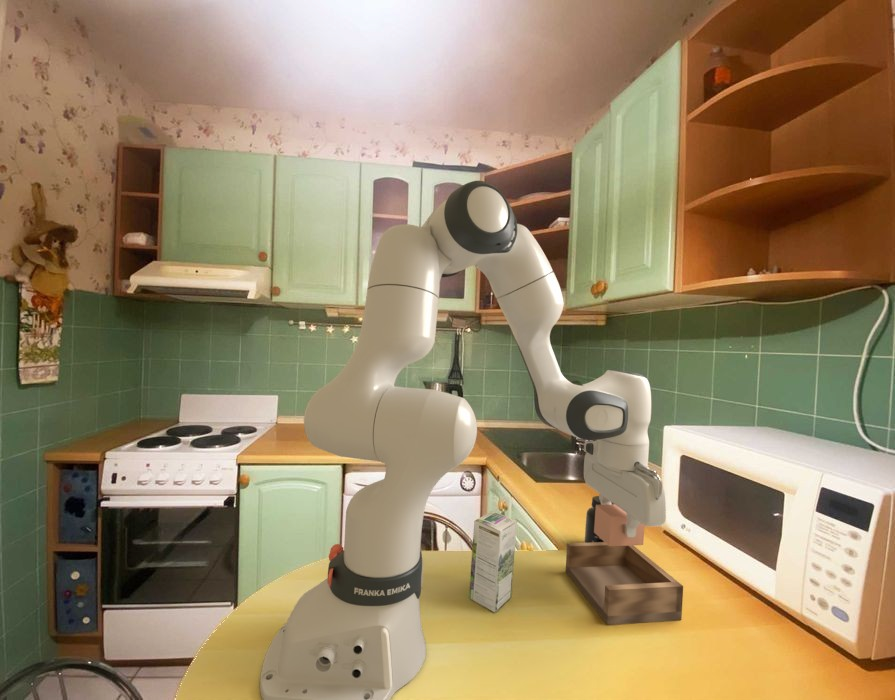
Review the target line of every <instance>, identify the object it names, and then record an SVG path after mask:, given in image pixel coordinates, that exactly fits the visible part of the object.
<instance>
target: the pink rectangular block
mask: <svg viewBox="0 0 895 700" xmlns="http://www.w3.org/2000/svg"><path fill="white" fill-rule="evenodd" d="M626 514H627V513H626V512H625V511H623V510H622V509H621V508H619V507H618V506H616V505H615V504H609V505H596V510H595V525H594V533H595V534H596V535H597V536H599V537H600V538H601V539H602V540H603V541H604V542H605V543H606V544H607V545H608V546H631V545H634V546H644V536H645V527H646V526H645V525H643V524H642V523H640V524H639V525H638V527H637V528H636V536H635V537H627V536H626V535H625V534H624V533H623V532H622V529H623V528H622V525H623V524H626V523H627V521H628V518H627V517H626Z"/></svg>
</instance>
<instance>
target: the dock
mask: <svg viewBox="0 0 895 700" xmlns="http://www.w3.org/2000/svg"><path fill="white" fill-rule="evenodd" d="M565 573H566V574H567V576H568V577H569V578H570V579H571V581H572V582H573V583H574V584H575V586H576V587H577V588H578V590H580V592H581V593H582V594H583V596H584V597H585V598H586V600H587V601H588V602H589V603H590V605H591V606H592V608H593V609H594V610H595V611H596V613H598V616H600V618H601V619H602V620H603V621H604V623H605V625H606V626H611V625H612V626H613V625H614V626H616V625H626V624H627V625H628V624H641V623H643V624H644V623H656V622H669V621H670V622H671V621H673V622H674V621H682V619H683V618H682V616H683V601H684V600H683V597H684V585H682V584H681V583H680V582H679V581H678V580H677V579H675V578H674V577H673V576H672V575H670V574H669V573H668V572H667V571H665V570H664V569H663V568H662V567H660V566H659V565H658V564H657V563H656V562H654V561H653V560H652V559H651V558H650V557H648V556H647V555H646V554H645V553H643V552H642V551H641V550H640V549H639V548H637V547H636V545H631V546H608V545H607V544H606V543H605V542H591V543H584V542H567V544H566V558H565Z"/></svg>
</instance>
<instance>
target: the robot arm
mask: <svg viewBox="0 0 895 700" xmlns="http://www.w3.org/2000/svg"><path fill="white" fill-rule="evenodd" d="M513 211H514V210H513V209H512V206H511V204H510V203H509V201H508V200H507V198H506V197H505V195H504V194H503V192H501V190H499V189H498V188H497V187H496V186H494V185H493V184H491V183H490V182H487V181H484V180H473V181H472V180H471V181H469V182H467V183H465V184H463V185H461V186H459V187H457V188H456V189H455V190H454V191H452V192H451V193H450V195H449V196H448V197H447V198H446V200H444V201H443V202H442V203H441V204H439V206H438V207H436V208H435V209H434V210H433V211H432V212H431V214H430V215H429V217H428V218H426V221H424V223H423V224H422V225H421V226H417V225H414V224H409V223H406V224H397V225H393V226H390V227H389V228H387V229H386V230H385V231H384V232H383V233H382V234H381V236H380V238H379V240H378V243H377V246H376V249H375V252H374V255H373V259H372V263H371V266H370V272H369V276H368V280H367V281H368V282H367V289H366V297H365V305H364V311H363V318H362V323H361V328H360V332H359V336H358V339H357V343H356V346H355V348H354V349H353V352H352V354H351V356H350V358H349V359H348V361H347V363H346V364H345V366H344V367H343V368H342V369H341V370H340V371H339V373H338V374H337V375H336V376H335V377H334V378H333V379H332V380H331V381H329V382H328V383H326V384H325V385H323V386H322V387H320V388H319V389H317V391H316V392H315V393H314V394H313V395H312V396H311V398H310V399H309V401H308V402H307V404H306V408H305V411H304V416H303V427H304V431H305V435H306V437H307V440H308V441H309V443H310V444H311V445H312V446H313V447H314V448H317V449H320V450H322V451H324V452H327V453H330V454H333V455H335V456H338V457H341V458H343V457H344V458H349V459H357V460H358V459H359V460H365V461H371V462H380V463H382V464H384V465H385V473H384V478H383V479H380V480H377V481H374V482H372V483H370V484H368V485H366V486H364V487H362V488H360V489H359V490H358V491H356V492H355V494H354V495H353V496H352V497H351V498H350V501H349V503H348V505H347V507H346V510H345V521H344V523H345V524H344V541H343V543H344V547H343V546H342V545H341V544H338V543H337V544H334V545H332V547H331V548H330V550H329V554H328V560H329V564H328V568H327V578H326V579H324V580H322V581H321V582H320V583H318V584H317V585H315V586H314V587H313V588H311V589H309V590H308V591H305V593H303V594H302V596H301V597H300V598H299V599H298V601H297V602H296V603H295V605H294V607H293V609H292V610H291V612H290V615H289V617H288V619H287V621H286V622H285V623H284V624H283V626H281V627H280V628H279V630H278V631H277V633H276V634H275V636H274V637H273V639H272V640H271V643H270V645H269V647H268V649H267V651H266V653H265V656H264V660H263V661H262V662H263V664H262V667H261V672H260V678H259V679H260V681H259V691H260V695H261V698H262V700H391V699H392V698H393V696H394V694H395V693H396V692H397V691H398V690H400V689H401V688H403V687H404V686H405V685H407V684H408V683H409V682H411V681H412V680H413V679H414V678H415V677H416V675H417V674H418V673H419V671H420V670H421V669H422V668H423V665H424V662H425V659H426V655H427V644H426V643H427V642H426V639H425V637H424V636H425V635H424V632H423V626H422V618H421V606H420V598H421V594H422V589H423V577H424V576H423V575H424V560H423V554H422V550H421V544H422V543H421V542H422V533H423V531H422V530H423V521H424V515H425V509H426V506H427V501H428V499H429V497H430V495H431V492H433V489H434V488H435V487H436V485H437V484H438V483H439V482H440V480H442V478H443V477H444V476H445V475H446V474H447V473H448V472H450V471H452V470H453V469H455V468H457V467H458V466H460V465H461V464H462V463H464V461H466V459H467V458H468V457H469V456H470V455H471V453H472V451H473V448H474V447H475V444H476V440H477V436H478V435H477V434H478V424H477V418H476V415H475V412H474V410H473V408H472V407H471V404H470V403H469V402H468V401H467V399H465V397H461V396H458V395H455V394H452V393H449V392H445V391H442V390H437V389H431V388H421V387H420V388H419V387H405V386H395V383H396V380H397V378H398V375H399V374H400V372H401V371H402V370H403V369H404V368H406V367H407V366H408V365H410V364H413V363H416V362H418V361H420V360H422V359H424V358H425V357H426V356H427V355H429V353H430V352H431V350H433V348H434V345H435V343H436V342H435V341H436V333H437V321H438V310H439V303H440V302H439V300H440V287H441V279H443V278H449V277H452V276H455V275H458V274H459V273H460V272H461V271H463V270H466V269H468V268H470V267H473V266H474V267H475V268H476V269H477V270H479V271H480V272H481V273H482V274H483V275H485V278H487V280H488V282H489V284H490V287H491V290H492V293H493V294H494V297H495V298H496V301H497V304H498V305H499V308H500V309H501V311H502V314H503V315H504V318H505V319H506V322H507V324H508V326H509V328H510V329H511V332H512V335H513V337H514V338H515V342H516V344H517V347H518V351H519V353H520V355H521V358H522V362H523V363H524V366H525V368H526V371H527V372H528V375H529V378H530V381H531V385H532V387H533V388H532V389H533V401H534V411H535V412H536V415H537V417H538V418H539V420H540V421H541V422H542V423H543V424H544V425H546V426H548V427H550V428H554V429H557V430H559V431H561V432H564V433H565V434H567V435H570V436H572V437H574V438H577V439H579V440H584V441H585V442H584V444H583V451H584V452H585V455H584V457H583V458H584V460H583V461H584V462H583V478H584V479H583V480H584V481H585V484H586V485H587V486H588V487H590V488H591V489H592V490H594V491H596V492H597V493H598V494H599V495H598V496H599V499H600V502H601V505H609V504H611V502H612V503H614V504H615V505H616V506H618V507H619V508H621V509H622V510H623V511H625V512H626V513H627V514H626V517H627V518H628V521H627V523H626V524H623V525H622V528H623V529H622V532H623V533H624V534H625V535H626V536H627V537H635V536H636V528H637V527H638V525H639V524H640V523H642V524H643V525H645V526H644V527H661V526H663V525H664V524H665V523H666V521H667V507H666V503H667V502H666V493H665V488H664V484H663V481H662V479H661V478H660V475H658V472H657V471H656V470H655V469H653V468H649V451H650V439H649V438H650V437H649V435H648V433H649V431H648V429H649V426H650V423H651V419H652V418H651V417H652V391H651V385H650V382H649V380H648V378H646V377H645V376H644V375H642V374H640V373H637V372H632V371H626V370H623V369H616V368H614V369H613V368H612V369H607V370H606V371H605V372H604V374H603V375H601V376H599V377H598V378H596V379H594V380H592V381H589V382H586V383H583V384H582V385H579V384H575V383H572V382H571V381H569V380H568V379H567V378H566V377H565V376H564V375H563V373H562V372H561V368H560V365H559V364H558V361H557V358H556V355H555V352H554V350H553V347H552V344H551V338H550V336H551V331H552V329H553V327H554V326H555V325H556V324H557V322H558V321H559V319H560V317H561V315H562V314H563V310H564V306H565V304H564V298H563V297H564V296H563V293H562V290H561V286H560V283H559V281H558V279H557V277H556V274H555V271H554V270H553V268H552V266H551V263H550V261H549V260H548V258H547V256H546V254H545V253H544V251H543V249H542V247H541V246H540V243H538V241H537V239H536V238H535V236H534V235H533V234H532V232H531V231H530V229H528V228H527V227H526V226H525V225H523V224H520V223H518V221H517V218H516V215H515V213H514V212H513Z"/></svg>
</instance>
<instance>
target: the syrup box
mask: <svg viewBox="0 0 895 700" xmlns="http://www.w3.org/2000/svg"><path fill="white" fill-rule="evenodd" d="M473 523H474V524H473V534H472V536H473V537H472V549H471V562H470V563H471V564H470V575H469V576H470V577H469V591H468V597H469V599H470V600H471V601H473V602H475V603H477V604H478V605H480V606H482V607H484V608H486V609H488V610H489V611H491V612H493V613H497V612H498V611H499V610H500V609H501V608H503V606H504V605H505V604H506V603H507V602H509V600H510V599H511V598H512V595H513V594H512V592H513V582H514V581H513V580H514V564H515V553H516V536H517V521H516V520H514V519H512V518H511V517H509V516H507V515H504V514H501V513H499V512H496V511H489V512H488V513H486V514H484V515H483V516H480V517H479V518H477V519H475V520H474V522H473Z"/></svg>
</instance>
